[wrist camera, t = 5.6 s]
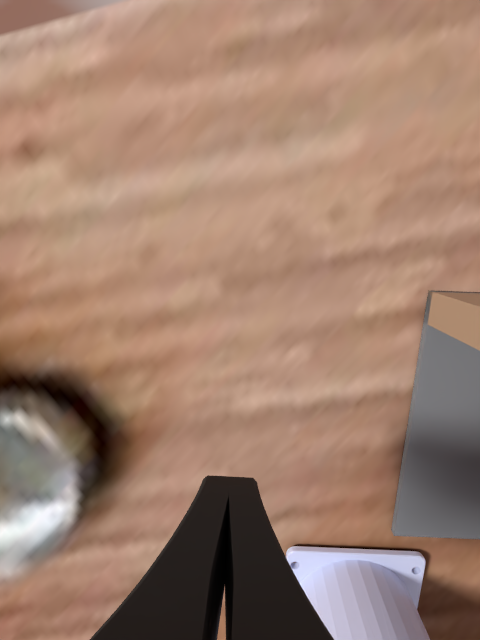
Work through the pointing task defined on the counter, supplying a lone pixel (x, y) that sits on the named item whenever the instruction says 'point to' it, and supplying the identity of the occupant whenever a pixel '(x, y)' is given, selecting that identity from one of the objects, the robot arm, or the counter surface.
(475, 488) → the l-shaped bracket
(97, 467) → the counter surface
